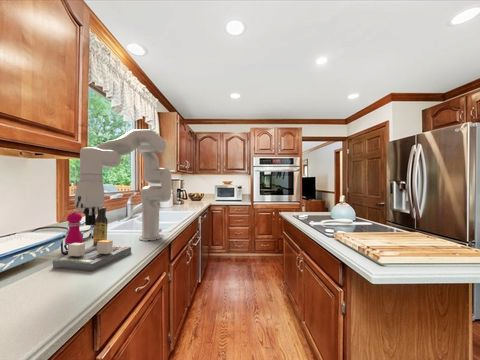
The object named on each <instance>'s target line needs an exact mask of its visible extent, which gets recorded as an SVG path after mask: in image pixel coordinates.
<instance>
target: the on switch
mask: <svg viewBox="0 0 480 360" xmlns="http://www.w3.org/2000/svg"><path fill="white" fill-rule="evenodd" d="M85 249H86V243H85V242H84V243H83V242H82V243H72V244H69V245H68V252H67V255H68V256H81V255H84V254H85Z"/></svg>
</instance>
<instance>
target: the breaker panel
mask: <svg viewBox="0 0 480 360" xmlns="http://www.w3.org/2000/svg"><path fill="white" fill-rule="evenodd" d="M131 254H132V246H121V245H120V246H119V245H113V252H111V253H108V254H101V253H97V245H94V246H90V247H88V248H85V254H84V255H81V256H68V254H67V255H64V256H61V257H59V258H55V259H53V260H52V268H53V269H59V270H60V269H61V270H69V271H70V270H72V271H83V272H93V273H94V272H95V271H96V270H99V269H102V268H103V267H105V266H107V265H109V264H112V263H113V262H116V261H118V260H120V259H122V258H124V257H127V256H128V255H131Z"/></svg>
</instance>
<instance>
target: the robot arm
mask: <svg viewBox="0 0 480 360" xmlns="http://www.w3.org/2000/svg"><path fill="white" fill-rule="evenodd" d="M166 148H167V143H166V141H165V139H164V138H163V137H162V136H160V135H159V134H158V133H156V132H155V131H153V130H152V129H147V128H146V129H144V128H143V129H132V130H129V131H128V132H126V133H125V134H123V135H122V136H120V137H118V138H116V139H111V140H110V141H107V142H104V143H100V144H98V145H96V146H93V147H87V146H86V147H82V148H81V149H80V151H79V182H76V183H77V184H76V187H75V191H74V192H75V193H74V208H76V210H77V212H79V213H80V212H81V213H83V215H84V216H85V217H84V218H85V219H84V220H85V221H84V225H85V226H94V225H95V220H96V218H97V215H98V210H100V209H102V208H103V207H104V205H105V188H104V182H103V179H104V178H103V168H104V169H105V168H107V169H109V168H111V169H113V168H116V167H118V166H120V164H121V162H122V157H123V156H126V155H129V154H131V153H133V151H134V150H136V149H137V151H138V152H139V153H140V155H141V157H142V159H143V180H144V182H145V183H146V184H150V185H147V186H144V187H142V188H141V190H140V200H141V211H142V212H141V213H142V214H141V235H139V237H138V239H139V240H140V241H142V242H143V241H145V242H148V240H151V241H156V239H157V240H160V239H162V234H160V233H161V232H162V231H163V230H162V228H160V207H159V205H158V203H166V202H169V201H170V200H171V198H172V173H171V170H169V168H167V167H160V159H159V157H158V156H157V154H156V153H164V151H166ZM151 184H153V185H151ZM155 184H156V185H155ZM157 184H158V185H157ZM159 184H160V185H159Z"/></svg>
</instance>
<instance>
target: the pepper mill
mask: <svg viewBox="0 0 480 360" xmlns="http://www.w3.org/2000/svg"><path fill="white" fill-rule="evenodd" d="M82 219H83V216H82V214H81V213H80V212H78V211H77V209H72V212H71V213H69V214H68V215H67V216H66V221H67V222H68V223H67V226H68V228H69V229H68V232H67V235H66V237H65V240H64V244H65V245H66V244H67V243H70V244H72V243H83V242H84V238H83V235H82V233H81V231H80V230H81V229H80V225H81V221H82Z"/></svg>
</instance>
